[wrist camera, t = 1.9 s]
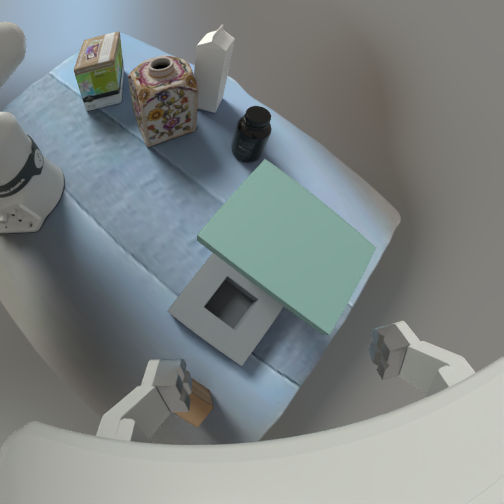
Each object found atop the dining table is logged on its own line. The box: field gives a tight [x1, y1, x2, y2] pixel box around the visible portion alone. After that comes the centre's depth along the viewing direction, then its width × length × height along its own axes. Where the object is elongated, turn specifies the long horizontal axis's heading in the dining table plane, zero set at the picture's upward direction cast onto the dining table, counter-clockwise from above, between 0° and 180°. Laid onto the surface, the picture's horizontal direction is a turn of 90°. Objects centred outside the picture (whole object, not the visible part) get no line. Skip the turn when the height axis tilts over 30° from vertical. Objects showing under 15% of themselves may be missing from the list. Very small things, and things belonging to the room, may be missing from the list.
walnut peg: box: [174, 378, 213, 427], centre depth 38 cm, size 4×4×11 cm
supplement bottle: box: [232, 106, 271, 162], centre depth 52 cm, size 7×7×12 cm
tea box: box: [74, 32, 124, 111], centre depth 48 cm, size 15×10×15 cm
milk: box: [194, 25, 235, 113], centre depth 49 cm, size 6×6×22 cm
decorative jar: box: [128, 56, 198, 147], centre depth 47 cm, size 12×12×18 cm
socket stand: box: [168, 159, 376, 366], centre depth 36 cm, size 17×15×28 cm
